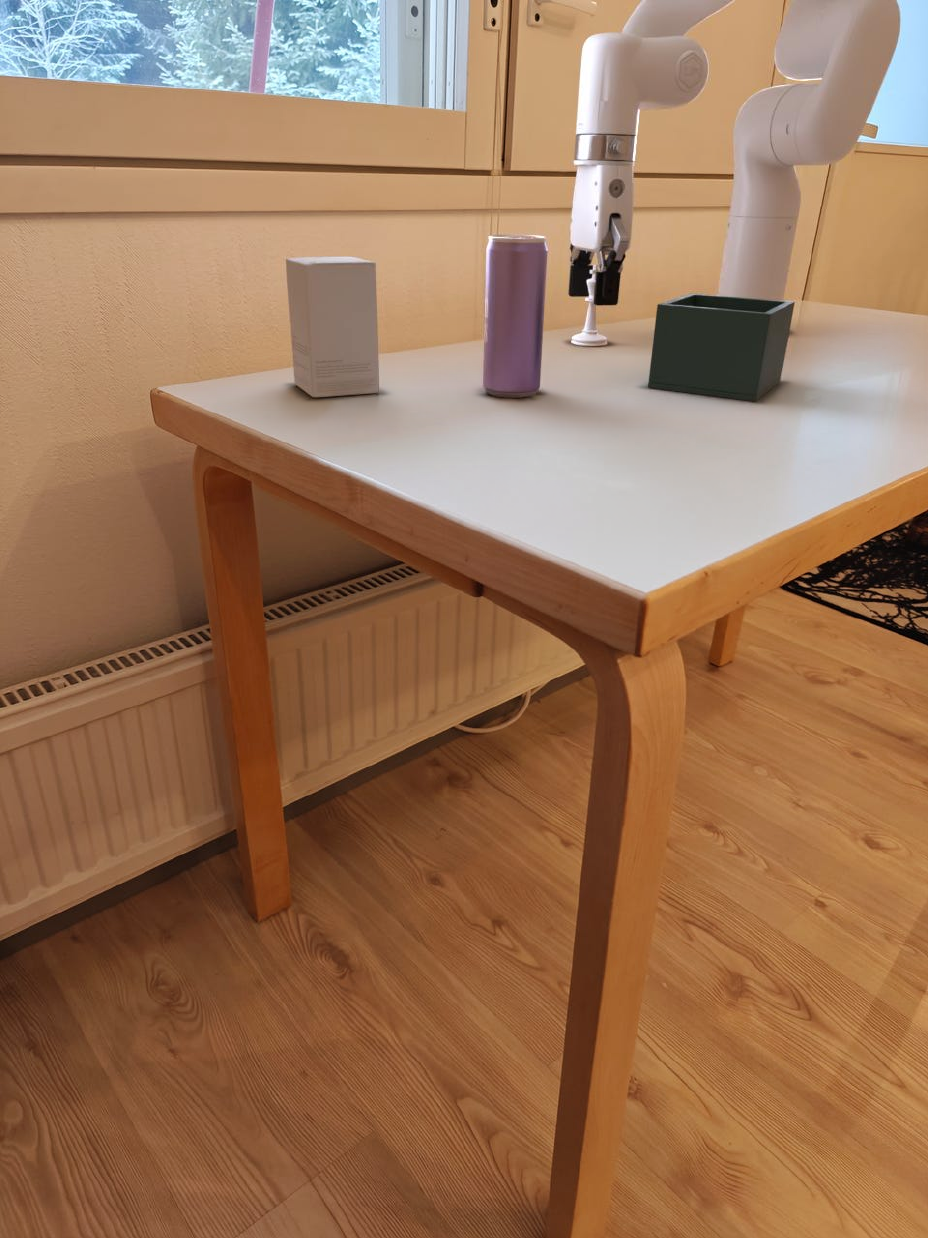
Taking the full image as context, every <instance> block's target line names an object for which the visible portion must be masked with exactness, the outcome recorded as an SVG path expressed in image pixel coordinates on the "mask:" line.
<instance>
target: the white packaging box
mask: <svg viewBox="0 0 928 1238" xmlns="http://www.w3.org/2000/svg"><path fill="white" fill-rule="evenodd" d="M285 264H286V265H285V269H286V271H285V273H286V285H287V298H288V299H287V301H288V311H289V312H288V313H289V325H290V327H289V328H290V339H291V351H292V353H291V354H292V369H293V383H294V385H295V386H297V387H298V388H299V389H301V390H302V391H303V392H305V393H306V394H307V395H309V396H311V398H329V397H342V396H355V395H365V394H366V395H369V394H378V393H379V391H380V366H379V365H380V363H379V362H380V361H379V332H378V331H379V330H378V327H379V326H378V303H377V302H378V300H377V297H378V296H377V263H376V262H375V261H371V260H367V259H363V258H359V257H354V256H314V257H288V258H285Z"/></svg>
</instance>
